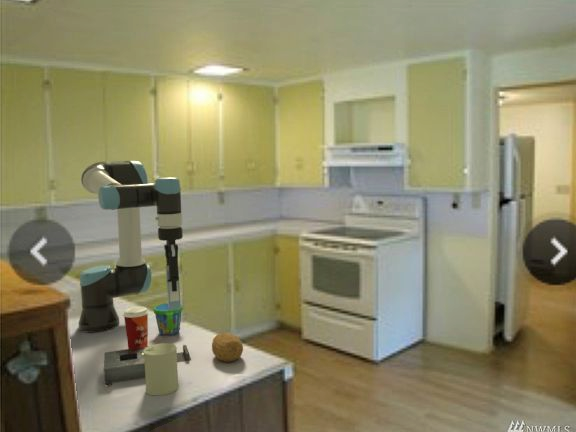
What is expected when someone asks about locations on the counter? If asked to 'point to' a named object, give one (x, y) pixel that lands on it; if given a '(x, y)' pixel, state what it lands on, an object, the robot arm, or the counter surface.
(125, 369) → the port
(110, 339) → the counter surface
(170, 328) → the snack cup
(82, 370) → the counter surface
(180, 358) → the dark grey bridge bracket
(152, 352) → the can
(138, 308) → the coffee cup
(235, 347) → the potato
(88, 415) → the counter surface
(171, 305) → the plug
